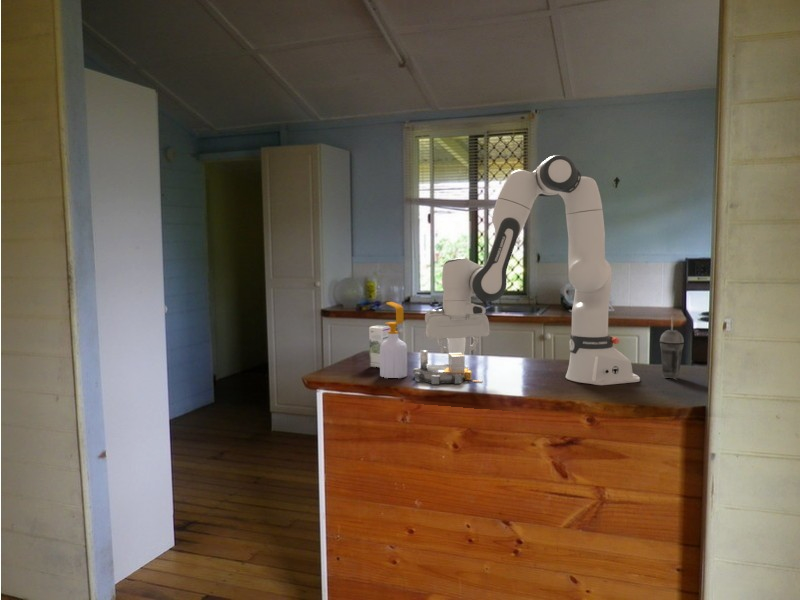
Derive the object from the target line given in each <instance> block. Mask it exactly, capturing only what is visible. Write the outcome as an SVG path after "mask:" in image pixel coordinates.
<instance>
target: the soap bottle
mask: <svg viewBox="0 0 800 600" xmlns="http://www.w3.org/2000/svg"><path fill="white" fill-rule="evenodd" d="M385 305H388V306H390V307H392V308H394V309H395V321H388V322H385V323H384V325H385V326H389V327H390V331H388V339H387V340H385V341H384V342H383V343H381V345H380V368H379V377H381V378H383V377H384V379H388V378H398V379H402V378H405V377H407V376H408V346H407V343H406V342H404V341H403V340H401V339H400V338H399V331H398V330H396V328H397V327H398V325H399V324H403V323H404V307H403V306H402V305H401V304H399V303H396V302H394V301H388V302H387V301H386V303H385Z"/></svg>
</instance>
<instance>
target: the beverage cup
mask: <svg viewBox="0 0 800 600" xmlns="http://www.w3.org/2000/svg"><path fill="white" fill-rule="evenodd" d="M670 319H671V320H670V321H671V323H670V329H667V330H665V331H664V332H663V333H661V335H660V338H659V345H660V353H661V355H660V356H661V368H662V369H661V371H662V378H663V377H665V378H678V379H679V375H680V371H681V362H682V361H681V360H682V354H683V349H684V344H685V340H684V339H685V338H684V336H683V334H682V333H681V332H680V331H678V330H677V329H674V315H672V314H671V318H670ZM665 378H664V379H665Z"/></svg>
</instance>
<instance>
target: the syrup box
mask: <svg viewBox="0 0 800 600" xmlns="http://www.w3.org/2000/svg"><path fill="white" fill-rule="evenodd" d="M388 331H391V327H389V325H372V326H369V328H368V333H369V334H368V337H369V338H368V339H369V343H368V344H369V345H368V346H369V367H371V368H376V367H377V368H378V369H380V345H381V343H383V342H384V341H385V340H387V339H388ZM377 368H376V369H377Z"/></svg>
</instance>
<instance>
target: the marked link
mask: <svg viewBox="0 0 800 600" xmlns="http://www.w3.org/2000/svg"><path fill="white" fill-rule="evenodd" d="M447 356H448V357H447V358H448V364H449V369H450V370H451V371H452V372H465V367H466V366H465V361H466V360H465V354H464V355H463V354H462V353H448V355H447Z"/></svg>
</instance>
